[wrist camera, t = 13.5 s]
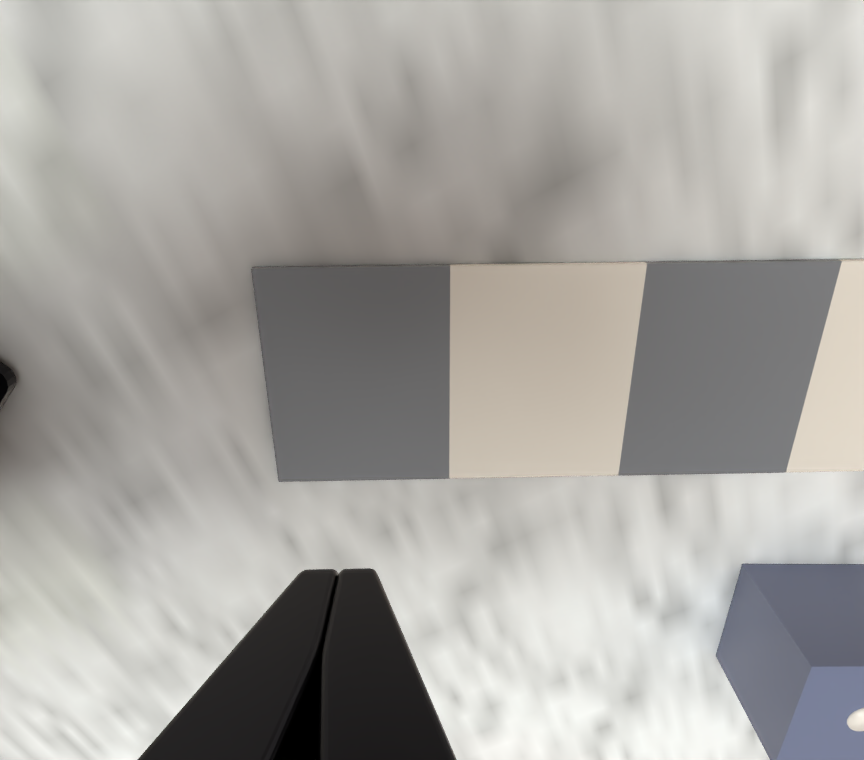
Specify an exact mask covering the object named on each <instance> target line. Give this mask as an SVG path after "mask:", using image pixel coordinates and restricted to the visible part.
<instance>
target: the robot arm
mask: <svg viewBox="0 0 864 760" xmlns="http://www.w3.org/2000/svg"><path fill="white" fill-rule="evenodd" d="M15 383H16V379H15V375H14V373H13V372H12V370H11V369H10V368H8V367H7V366H6V365H5V364H3V363H1V362H0V409H1V408H2V406H3V404H4V403H5V401H6V400H7V398H8V396H9V395H10V393H11V392H12V390H13V388H14V387H15ZM138 760H456V757H455V755H454V753H453V750H452V748H451V746H450V743H449V741H448V738H447V736H446V734H445V731H444V729H443V727H442V724H441V722H440V720H439V717H438V715H437V713H436V710H435V708H434V706H433V703H432V701H431V699H430V696H429V694H428V692H427V689H426V687H425V685H424V682H423V680H422V678H421V675H420V673H419V671H418V668H417V666H416V663H415V661H414V659H413V656H412V654H411V652H410V649H409V647H408V645H407V642H406V640H405V638H404V635H403V633H402V631H401V628H400V626H399V624H398V621H397V619H396V617H395V614H394V612H393V610H392V607H391V605H390V603H389V600H388V598H387V596H386V593H385V591H384V589H383V586H382V584H381V581H380V579H379V577H378V575H377V573H376V571H375V570H373V569H343V570H342V571H341V572H340V573H339V574H338V573H337V571H335V570H333V569H319V570H304V571H302V572H301V573H299V574H298V575H297V577H296V578H295V579H294V580H293V581H292V582H291V583H290V585H289V586H288V587H287V588H286V589H285V590H284V592H283V593H282V594H281V595H280V596H279V597H278V598H277V600H276V601H275V602H274V603H273V604H272V605H271V607H270V608H269V609H268V610H267V611H266V612H265V613H264V615H263V616H262V617H261V618H260V619H259V620H258V622H257V623H256V624H255V625H254V626H253V627H252V628H251V630H250V631H249V632H248V633H247V634H246V635H245V637H244V638H243V639H242V640H241V641H240V642H239V643H238V645H237V646H236V647H235V648H234V649H233V650H232V652H231V653H230V654H229V655H228V656H227V657H226V658H225V660H224V661H223V662H222V663H221V664H220V665H219V667H218V668H217V669H216V670H215V671H214V672H213V673H212V675H211V676H210V677H209V678H208V679H207V680H206V682H205V683H204V684H203V685H202V686H201V687H200V688H199V690H198V691H197V692H196V693H195V694H194V695H193V697H192V698H191V699H190V700H189V701H188V702H187V703H186V705H185V706H184V707H183V708H182V709H181V710H180V712H179V713H178V714H177V715H176V716H175V717H174V718H173V720H172V721H171V722H170V723H169V724H168V725H167V727H166V728H165V729H164V730H163V731H162V732H161V733H160V735H159V736H158V737H157V738H156V739H155V740H154V742H153V743H152V744H151V745H150V746H149V747H148V748H147V750H146V751H145V752H144V753H143V754H142V755H141V757H140V758H139V759H138Z"/></svg>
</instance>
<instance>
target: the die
mask: <svg viewBox="0 0 864 760" xmlns="http://www.w3.org/2000/svg"><path fill="white" fill-rule="evenodd" d="M716 657H717V659H718V661H719V663H720V665H721V666H722V668H723V670H724V672H725V674H726V676H727V678H728V680H729V682H730V684H731V686H732V688H733V689H734V691H735V693H736V695H737V697H738V699H739V701H740V703H741V705H742V707H743V709H744V710H745V712H746V714H747V716H748V718H749V720H750V722H751V724H752V726H753V728H754V730H755V731H756V733H757V735H758V737H759V739H760V741H761V743H762V745H763V747H764V749H765V751H766V753H767V754H768V756H769V758H770V760H864V564H742V567H741V570H740V574H739V577H738V581H737V584H736V588H735V591H734V594H733V598H732V601H731V605H730V608H729V612H728V615H727V619H726V622H725V626H724V629H723V633H722V636H721V639H720V643H719V646H718V650H717V653H716Z"/></svg>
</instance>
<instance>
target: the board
mask: <svg viewBox="0 0 864 760" xmlns="http://www.w3.org/2000/svg"><path fill="white" fill-rule="evenodd" d="M251 270H252V278H253V285H254V293H255V301H256V309H257V317H258V324H259V332H260V340H261V348H262V356H263V363H264V371H265V379H266V387H267V395H268V402H269V410H270V418H271V426H272V434H273V441H274V449H275V457H276V465H277V473H278V480H279V482H287V481H341V480H396V479H451V478H505V477H560V476H615V475H669V474H724V473H779V472H833V471H864V259H841V260H763V261H684V262H605V263H526V264H447V265H368V266H289V267H253V268H252V269H251Z"/></svg>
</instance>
